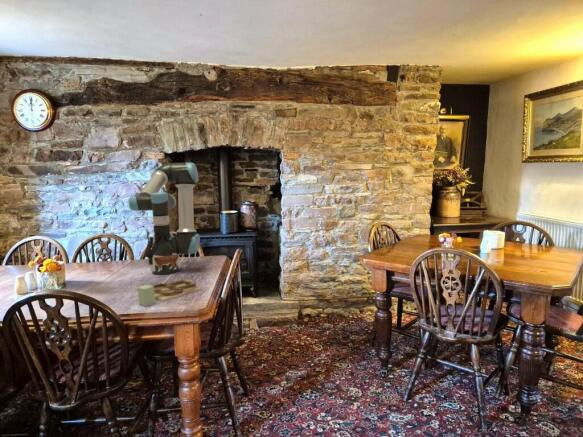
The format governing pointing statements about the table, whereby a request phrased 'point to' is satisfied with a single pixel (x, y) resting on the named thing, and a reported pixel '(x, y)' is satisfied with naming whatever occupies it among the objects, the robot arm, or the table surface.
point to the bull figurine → (165, 261)
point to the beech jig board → (174, 289)
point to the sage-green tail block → (146, 295)
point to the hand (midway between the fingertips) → (164, 268)
